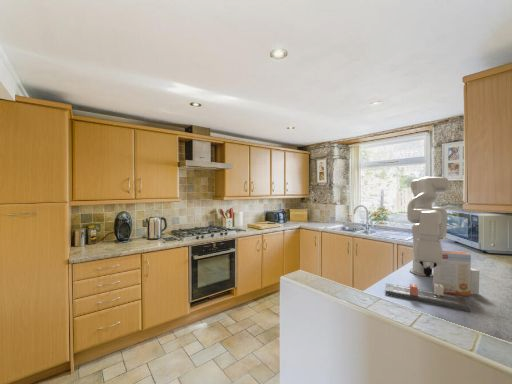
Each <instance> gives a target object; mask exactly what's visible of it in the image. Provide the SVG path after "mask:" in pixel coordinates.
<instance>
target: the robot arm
mask: <svg viewBox="0 0 512 384" xmlns="http://www.w3.org/2000/svg"><path fill="white" fill-rule="evenodd" d="M410 189H411V192H412V194H413V198H412V199H411V200H410V201H409V202H408V205H407V208H406V209H407V211H406V212H407V213H406V214H407V215H406V216H407V221H409V223H411V224H413V225H412V226H411V234H412V267H411V268H410V269H409V272H410V273H412V274H413V275H417V276H420V277H427V278H431V277H433V269H434V267H435V266H442V265H443V264H442V251H443V249H442V243H441V241H444V240H446V238H447V232H448V231H447V229H448V227H447V226H448V213H447V210H446V209H445V208H444V207H443V206H432V204H433V203H435V202H436V200H437V194H446V193H447V192H448V191H449V190H450V181H449V179H448V177H445V176H424V177H421V178H419V179H418V178H417V179H413V180H412V181H411V182H410Z"/></svg>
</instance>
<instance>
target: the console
mask: <svg viewBox="0 0 512 384" xmlns="http://www.w3.org/2000/svg"><path fill="white" fill-rule="evenodd" d="M386 294H388V295H387V296H391V295H392V296H391V297H395V298H399V299H404V300H405V299H407V300H411V301H415V302H421V303H425V304H430V305H435V306H440V307H445V308H449V309H455V310H460V311H464V312H469V313H470V312H471V307H470V304H469V303H468V302H467V300H466V299H465V297H463V296H460V295H454V294H446V293H443V296H441V295H436V294H435V292H434V291H430V290H425V289H420V288H418V296H414V295H410V286H409V287H408V286H404V285H398V284H392V283H386V284H385V295H386Z"/></svg>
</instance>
